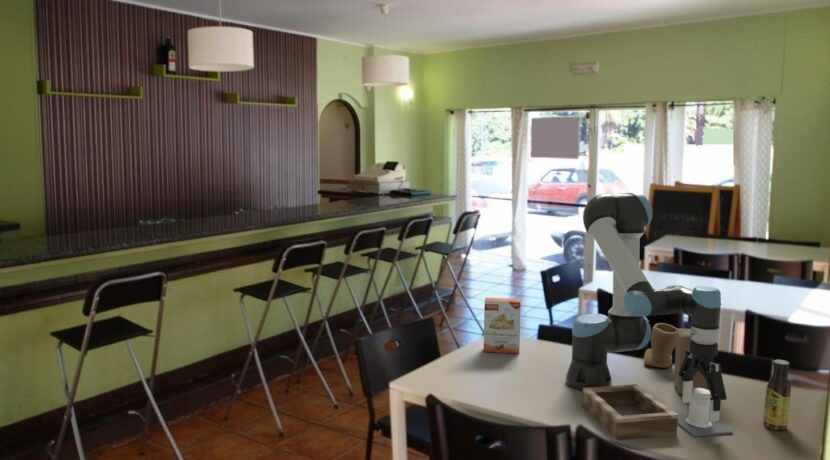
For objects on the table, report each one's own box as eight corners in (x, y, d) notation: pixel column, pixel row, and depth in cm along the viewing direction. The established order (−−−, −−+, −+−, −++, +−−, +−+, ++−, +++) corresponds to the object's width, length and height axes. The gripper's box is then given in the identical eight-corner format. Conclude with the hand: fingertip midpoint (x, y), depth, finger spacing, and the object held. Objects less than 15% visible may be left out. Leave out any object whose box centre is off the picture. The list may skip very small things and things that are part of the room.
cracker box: (483, 352, 265) (483, 300, 262) (484, 348, 271) (484, 296, 268) (519, 354, 262) (520, 301, 259) (519, 349, 268) (520, 298, 265)
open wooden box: (582, 406, 212) (582, 387, 211) (635, 402, 215) (636, 384, 214) (617, 439, 189) (618, 419, 188) (676, 434, 192) (677, 414, 191)
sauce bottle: (758, 422, 200) (763, 357, 197) (778, 421, 200) (783, 357, 198) (771, 432, 193) (776, 365, 191) (792, 431, 194) (797, 364, 191)
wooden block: (711, 397, 219) (714, 337, 216) (678, 395, 221) (681, 335, 218) (704, 386, 229) (707, 328, 226) (673, 384, 231) (676, 327, 228)
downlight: (683, 425, 196) (687, 392, 195) (683, 416, 203) (687, 384, 201) (713, 430, 194) (717, 397, 192) (712, 421, 200) (716, 389, 198)
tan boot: (676, 372, 243) (678, 331, 240) (641, 367, 247) (643, 327, 245) (678, 359, 256) (680, 320, 254) (645, 355, 261) (647, 317, 259)
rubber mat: (667, 416, 204) (667, 414, 204) (703, 413, 206) (704, 412, 206) (693, 436, 190) (693, 434, 190) (732, 433, 192) (732, 431, 192)
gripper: (668, 329, 206) (665, 395, 209) (718, 355, 182) (713, 430, 185) (691, 328, 207) (687, 394, 210) (743, 353, 183) (738, 428, 186)
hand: (699, 411), depth 198 cm, fingers open, 13 cm apart
